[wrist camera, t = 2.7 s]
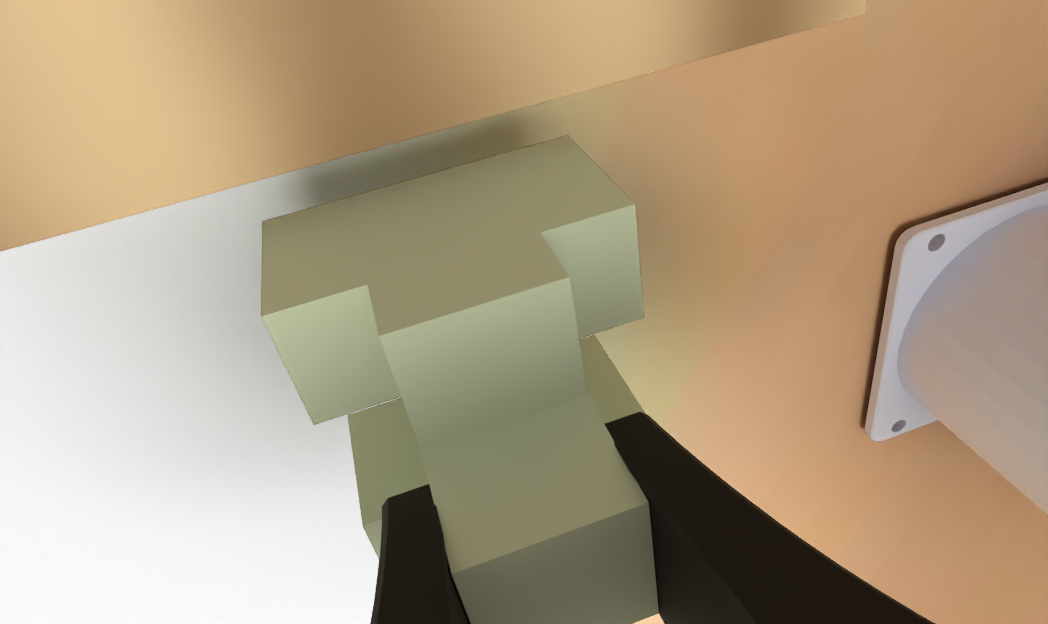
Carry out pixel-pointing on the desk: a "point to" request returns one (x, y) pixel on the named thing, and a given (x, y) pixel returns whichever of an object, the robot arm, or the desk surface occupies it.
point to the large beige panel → (303, 84)
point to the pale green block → (481, 371)
